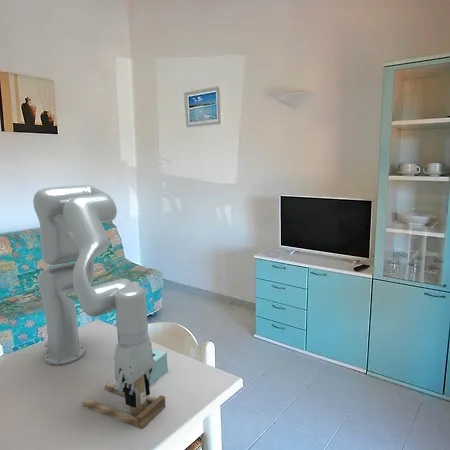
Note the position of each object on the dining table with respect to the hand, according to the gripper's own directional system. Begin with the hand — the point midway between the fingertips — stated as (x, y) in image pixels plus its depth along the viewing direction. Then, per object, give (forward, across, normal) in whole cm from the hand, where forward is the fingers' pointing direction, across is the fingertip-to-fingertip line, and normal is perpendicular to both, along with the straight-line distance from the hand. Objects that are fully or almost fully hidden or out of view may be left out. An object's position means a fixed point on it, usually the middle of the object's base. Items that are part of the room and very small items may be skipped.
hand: (137, 398), depth 100 cm
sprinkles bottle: (+4, 0, 0) cm, 4 cm away
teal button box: (+4, -15, -9) cm, 18 cm away
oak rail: (+4, 0, -5) cm, 7 cm away
